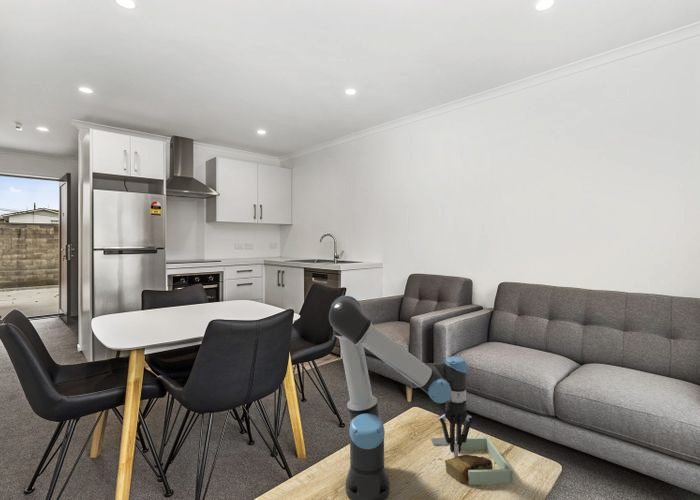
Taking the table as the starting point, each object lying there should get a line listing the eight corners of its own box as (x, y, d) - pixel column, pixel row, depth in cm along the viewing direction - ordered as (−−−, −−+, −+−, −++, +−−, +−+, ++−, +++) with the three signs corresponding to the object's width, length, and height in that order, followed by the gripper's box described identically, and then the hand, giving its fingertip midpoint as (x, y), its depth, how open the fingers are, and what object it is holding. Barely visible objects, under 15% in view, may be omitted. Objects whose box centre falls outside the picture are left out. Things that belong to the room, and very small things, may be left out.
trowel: (433, 445, 150) (433, 441, 150) (431, 439, 154) (431, 436, 154) (467, 444, 150) (467, 440, 150) (463, 438, 155) (463, 435, 155)
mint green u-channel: (469, 484, 125) (469, 471, 125) (450, 448, 147) (450, 438, 147) (513, 483, 126) (513, 470, 126) (487, 448, 148) (487, 437, 148)
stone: (457, 484, 125) (457, 469, 125) (443, 469, 134) (443, 455, 134) (494, 477, 130) (494, 462, 130) (478, 462, 139) (478, 448, 138)
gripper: (441, 403, 133) (441, 466, 133) (476, 403, 133) (475, 465, 134) (436, 394, 140) (435, 454, 141) (469, 394, 140) (468, 453, 141)
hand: (455, 459), depth 137 cm, fingers closed
